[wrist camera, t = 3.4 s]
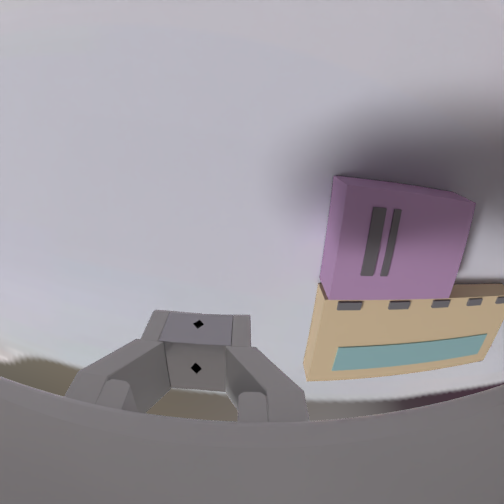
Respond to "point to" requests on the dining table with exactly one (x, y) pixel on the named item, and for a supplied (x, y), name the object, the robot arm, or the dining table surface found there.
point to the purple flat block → (393, 240)
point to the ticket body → (401, 333)
